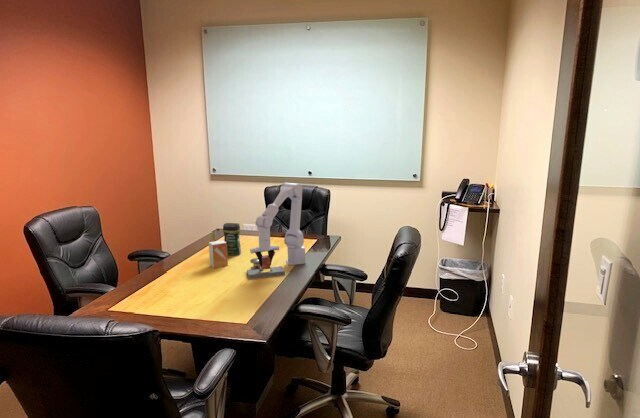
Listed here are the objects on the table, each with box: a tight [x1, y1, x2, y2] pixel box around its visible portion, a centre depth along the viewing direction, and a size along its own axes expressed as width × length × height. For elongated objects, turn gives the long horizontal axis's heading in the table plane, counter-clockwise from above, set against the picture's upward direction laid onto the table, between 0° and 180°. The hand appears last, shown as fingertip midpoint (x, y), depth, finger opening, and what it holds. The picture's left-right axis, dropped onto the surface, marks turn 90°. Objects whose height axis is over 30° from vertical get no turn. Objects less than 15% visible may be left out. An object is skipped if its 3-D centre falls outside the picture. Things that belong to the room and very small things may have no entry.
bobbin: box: [250, 257, 263, 272], centre depth 224 cm, size 7×7×5 cm
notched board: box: [246, 265, 286, 280], centre depth 216 cm, size 18×8×2 cm, turn 106°
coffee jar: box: [222, 222, 242, 256], centre depth 249 cm, size 10×8×19 cm
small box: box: [208, 239, 229, 269], centre depth 229 cm, size 8×6×13 cm
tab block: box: [261, 254, 271, 271], centre depth 216 cm, size 4×4×6 cm
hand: (265, 265), depth 216 cm, fingers closed on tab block, 4 cm apart
